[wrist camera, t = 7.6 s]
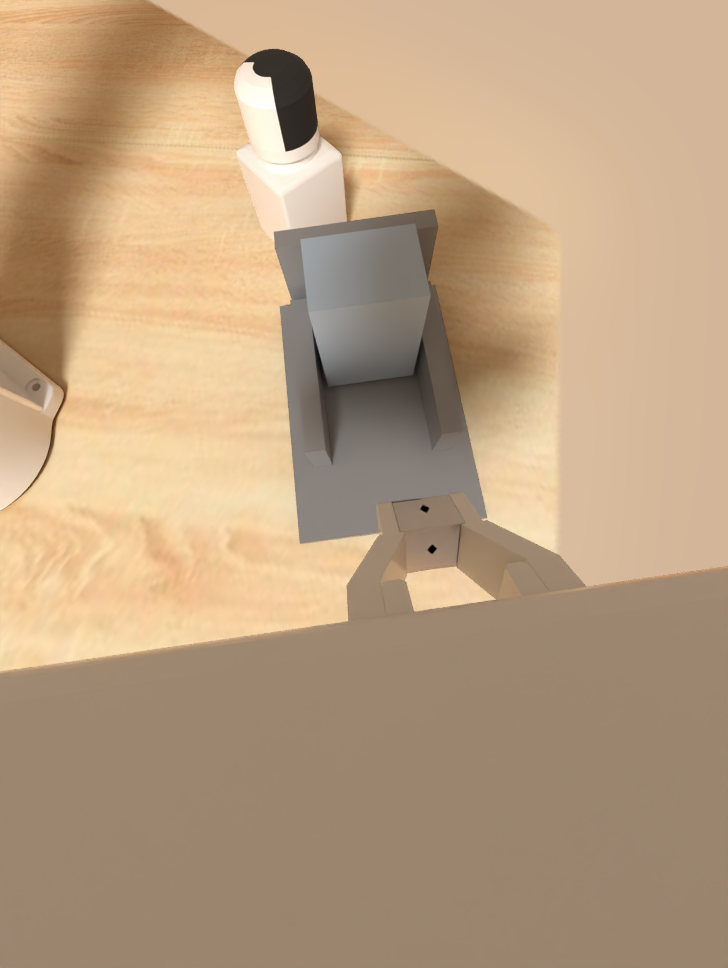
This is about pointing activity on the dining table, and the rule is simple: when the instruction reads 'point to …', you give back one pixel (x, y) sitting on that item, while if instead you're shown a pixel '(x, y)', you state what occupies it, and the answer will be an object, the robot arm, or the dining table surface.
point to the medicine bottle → (286, 146)
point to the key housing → (370, 411)
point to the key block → (366, 302)
